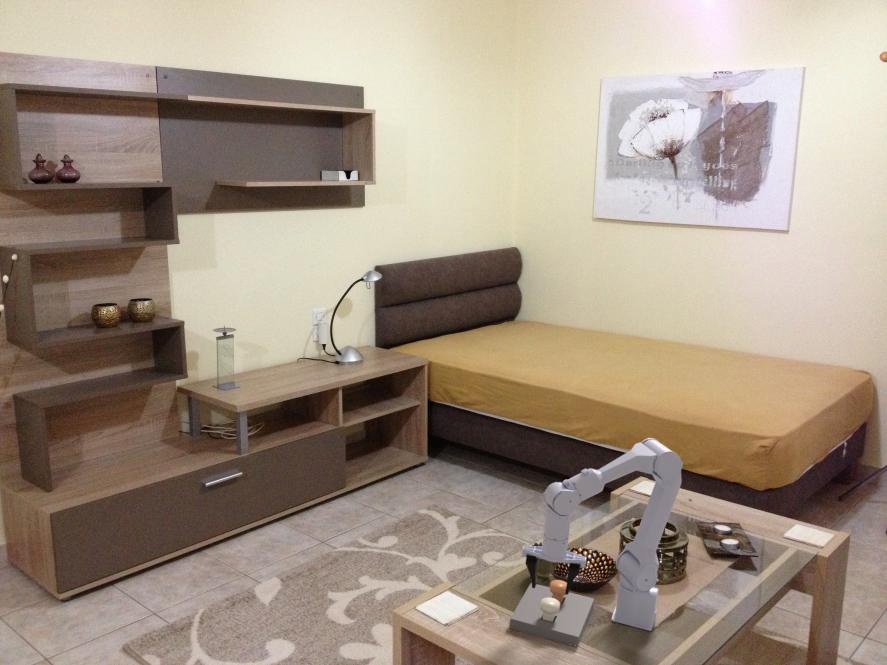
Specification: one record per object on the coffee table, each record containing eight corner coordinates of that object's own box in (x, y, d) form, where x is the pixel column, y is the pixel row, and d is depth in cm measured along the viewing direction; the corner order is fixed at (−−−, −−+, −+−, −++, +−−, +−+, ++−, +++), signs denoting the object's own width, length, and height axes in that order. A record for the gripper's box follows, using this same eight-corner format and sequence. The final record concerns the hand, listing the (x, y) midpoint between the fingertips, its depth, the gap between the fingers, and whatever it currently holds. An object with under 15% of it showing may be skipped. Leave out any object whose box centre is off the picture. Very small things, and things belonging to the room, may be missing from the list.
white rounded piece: (560, 615, 191) (561, 600, 190) (555, 625, 187) (557, 609, 186) (542, 611, 192) (543, 595, 192) (537, 620, 188) (538, 604, 188)
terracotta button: (568, 597, 199) (570, 582, 198) (564, 606, 195) (566, 591, 194) (551, 593, 201) (552, 578, 200) (546, 601, 197) (548, 586, 196)
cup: (556, 585, 209) (559, 557, 207) (527, 581, 210) (530, 552, 209) (558, 571, 216) (561, 544, 214) (530, 567, 217) (533, 539, 216)
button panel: (593, 607, 200) (594, 598, 199) (577, 646, 183) (578, 637, 183) (530, 591, 205) (531, 582, 205) (509, 628, 189) (510, 618, 188)
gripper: (589, 533, 188) (583, 586, 191) (527, 522, 191) (522, 575, 194) (587, 546, 181) (580, 602, 184) (522, 535, 185) (517, 589, 188)
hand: (550, 589), depth 189 cm, fingers open, 7 cm apart
